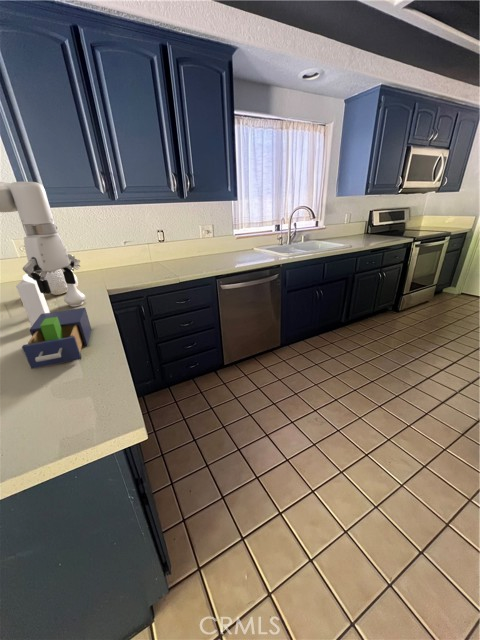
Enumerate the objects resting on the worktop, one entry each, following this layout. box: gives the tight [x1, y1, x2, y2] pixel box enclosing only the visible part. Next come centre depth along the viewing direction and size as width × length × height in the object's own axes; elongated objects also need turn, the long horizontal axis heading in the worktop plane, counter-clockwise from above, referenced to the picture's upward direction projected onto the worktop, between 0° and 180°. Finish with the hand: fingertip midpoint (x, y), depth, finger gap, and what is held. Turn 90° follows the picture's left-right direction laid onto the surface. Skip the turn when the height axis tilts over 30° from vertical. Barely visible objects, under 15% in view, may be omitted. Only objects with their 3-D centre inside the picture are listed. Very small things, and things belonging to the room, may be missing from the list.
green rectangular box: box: [40, 317, 64, 341], centre depth 85 cm, size 4×6×11 cm, turn 22°
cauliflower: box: [45, 269, 79, 296], centre depth 151 cm, size 20×18×16 cm
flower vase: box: [49, 258, 87, 308], centre depth 129 cm, size 13×18×25 cm
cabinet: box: [29, 307, 93, 348], centre depth 96 cm, size 15×15×10 cm
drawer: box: [21, 324, 83, 370], centre depth 84 cm, size 18×13×8 cm
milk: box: [15, 272, 51, 327], centre depth 106 cm, size 6×6×22 cm
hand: (59, 288), depth 82 cm, fingers open, 9 cm apart
